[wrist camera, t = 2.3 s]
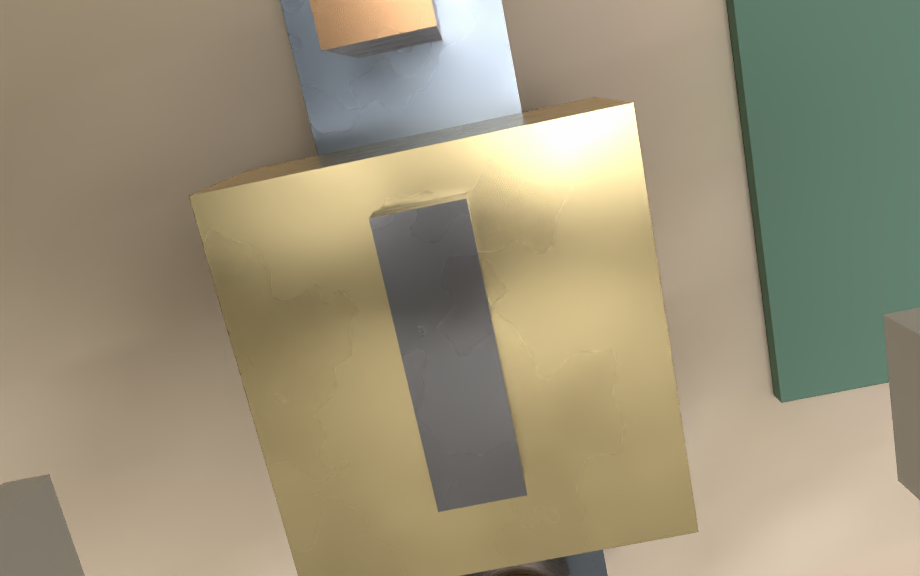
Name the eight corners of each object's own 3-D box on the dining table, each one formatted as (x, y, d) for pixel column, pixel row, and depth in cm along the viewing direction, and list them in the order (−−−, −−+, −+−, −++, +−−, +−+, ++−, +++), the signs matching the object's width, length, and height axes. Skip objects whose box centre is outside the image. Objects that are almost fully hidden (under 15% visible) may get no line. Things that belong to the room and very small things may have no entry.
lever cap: (247, 170, 20) (174, 201, 15) (594, 97, 20) (642, 103, 15) (336, 500, 22) (299, 627, 17) (650, 440, 22) (709, 553, 17)
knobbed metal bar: (291, -75, 23) (168, -186, 13) (469, -115, 23) (476, -258, 13) (448, 583, 28) (443, 851, 18) (595, 556, 28) (668, 813, 18)
